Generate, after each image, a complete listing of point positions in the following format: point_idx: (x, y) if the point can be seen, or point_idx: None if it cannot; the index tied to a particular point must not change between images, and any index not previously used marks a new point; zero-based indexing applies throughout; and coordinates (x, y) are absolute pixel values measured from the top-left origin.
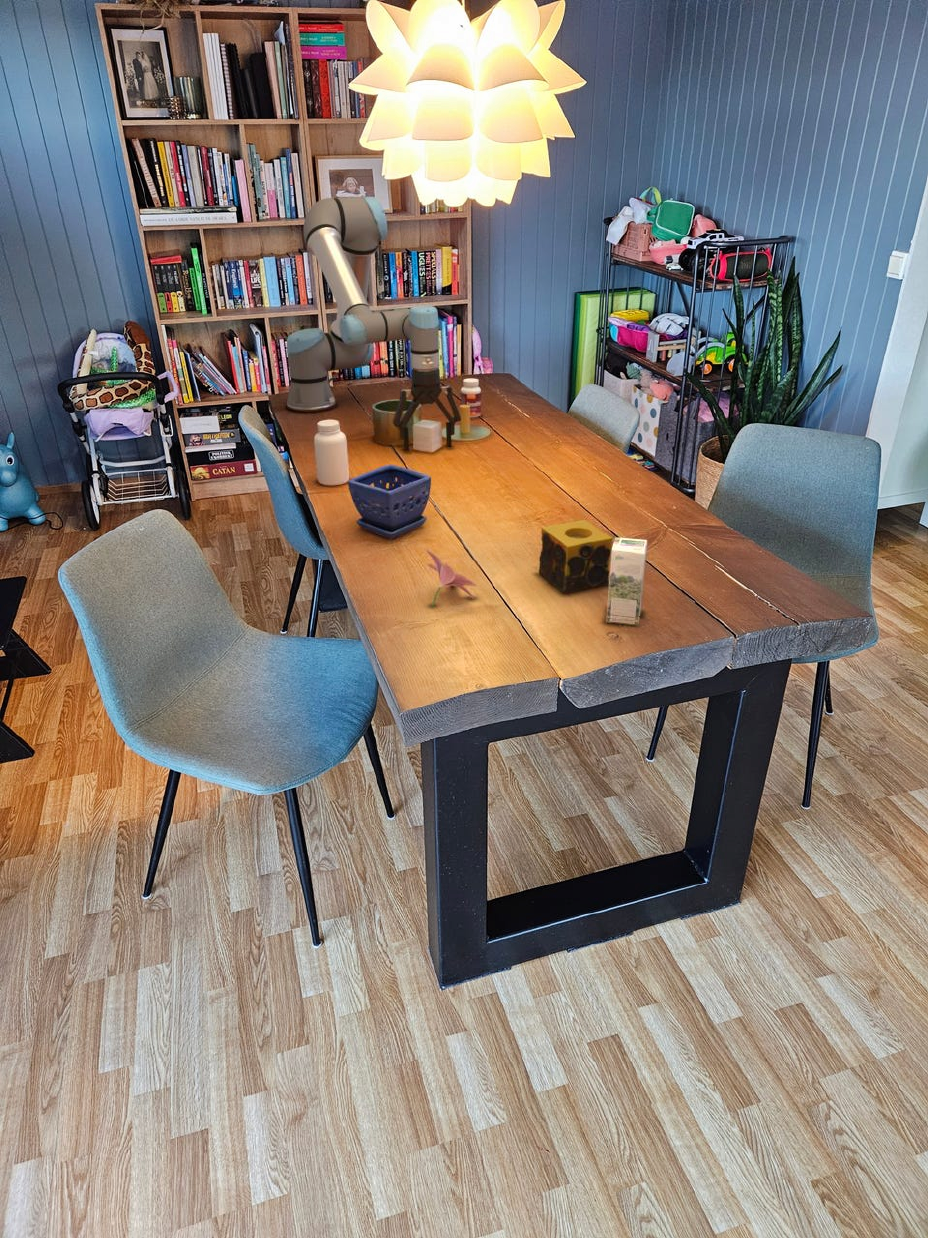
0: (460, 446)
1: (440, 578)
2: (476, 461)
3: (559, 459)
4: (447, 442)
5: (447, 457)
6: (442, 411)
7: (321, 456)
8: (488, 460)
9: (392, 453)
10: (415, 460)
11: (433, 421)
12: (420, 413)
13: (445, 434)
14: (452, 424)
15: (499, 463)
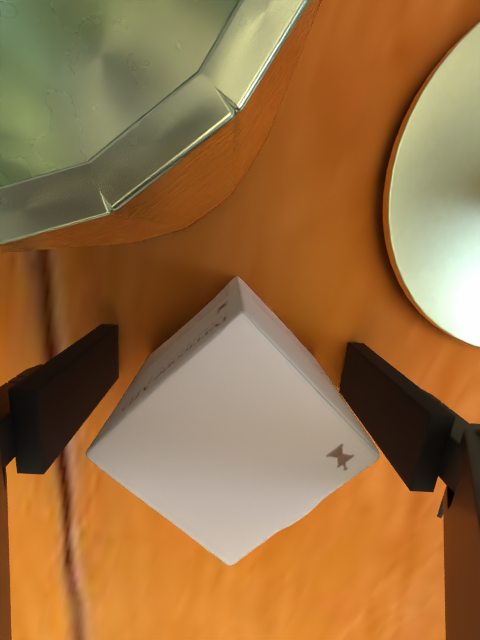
0: (410, 370)
1: None
2: (373, 569)
3: None
4: (352, 375)
5: None
6: (448, 635)
7: None
8: (422, 572)
9: (27, 352)
10: None
11: (318, 421)
12: (287, 67)
13: (420, 192)
14: (440, 514)
15: (440, 609)
